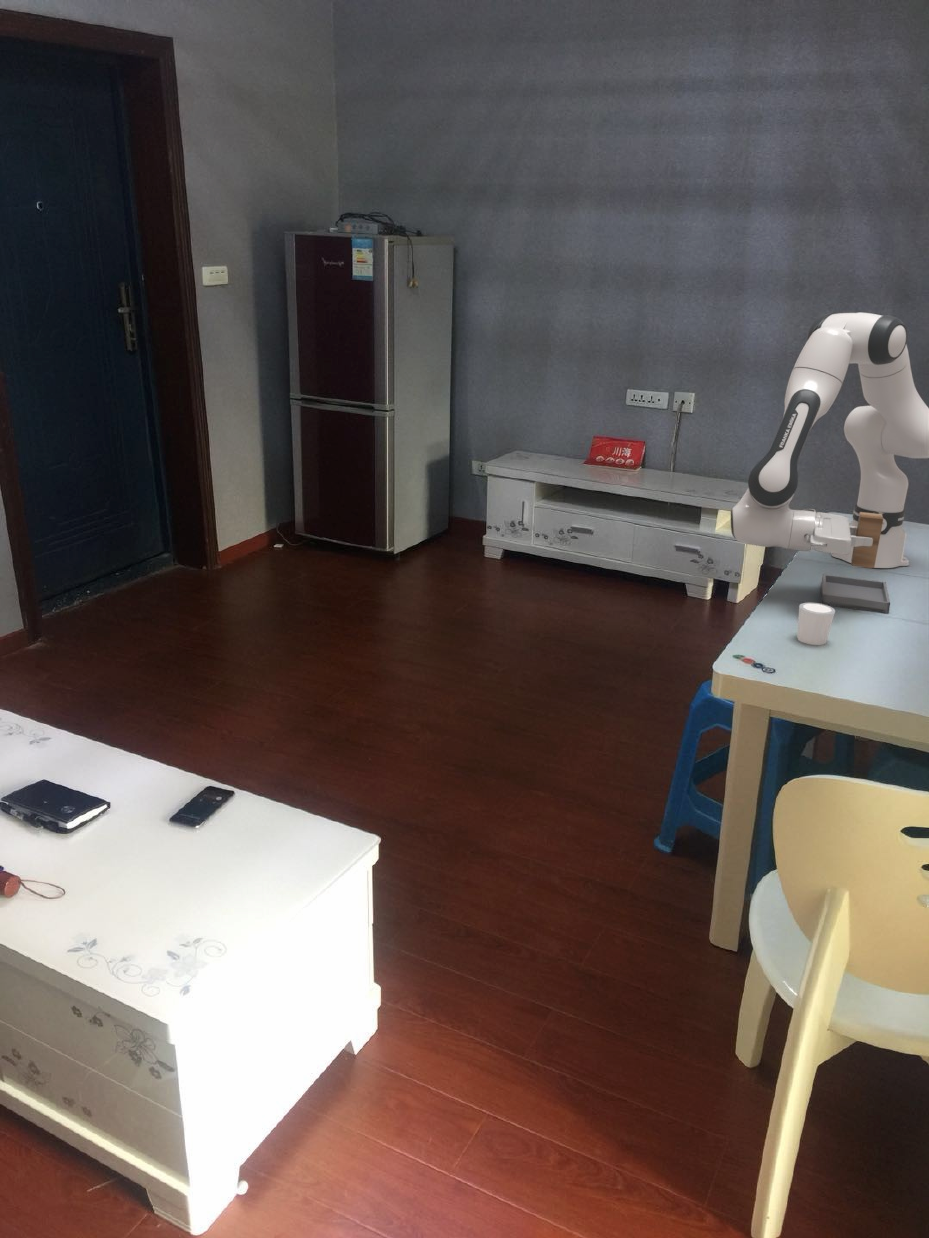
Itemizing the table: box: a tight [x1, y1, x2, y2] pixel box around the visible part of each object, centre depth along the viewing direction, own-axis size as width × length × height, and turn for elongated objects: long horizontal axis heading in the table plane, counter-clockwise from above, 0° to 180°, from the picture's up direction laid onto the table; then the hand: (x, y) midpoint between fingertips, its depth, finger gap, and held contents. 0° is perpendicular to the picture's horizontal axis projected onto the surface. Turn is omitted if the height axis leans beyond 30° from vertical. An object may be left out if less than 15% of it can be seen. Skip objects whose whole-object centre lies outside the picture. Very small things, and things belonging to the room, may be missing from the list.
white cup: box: [796, 602, 836, 646], centre depth 195 cm, size 7×7×7 cm
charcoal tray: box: [820, 573, 891, 614], centre depth 221 cm, size 16×14×2 cm
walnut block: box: [851, 512, 883, 569], centre depth 209 cm, size 4×4×11 cm
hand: (871, 538), depth 209 cm, fingers closed on walnut block, 4 cm apart
